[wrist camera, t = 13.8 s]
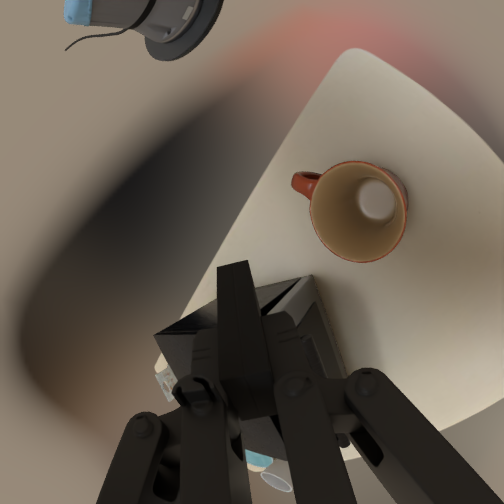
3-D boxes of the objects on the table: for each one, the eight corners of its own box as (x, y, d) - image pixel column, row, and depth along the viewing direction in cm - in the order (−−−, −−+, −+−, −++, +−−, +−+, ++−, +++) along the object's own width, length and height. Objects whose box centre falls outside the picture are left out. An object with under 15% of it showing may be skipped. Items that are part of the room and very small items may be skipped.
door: (333, 268, 37) (295, 322, 23) (371, 390, 38) (350, 466, 25) (302, 277, 39) (250, 330, 26) (344, 394, 41) (315, 466, 27)
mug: (425, 180, 26) (422, 187, 18) (397, 247, 30) (380, 280, 22) (333, 140, 31) (293, 134, 23) (313, 204, 35) (270, 220, 28)
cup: (310, 458, 52) (283, 493, 44) (285, 442, 56) (256, 475, 47) (325, 450, 48) (297, 489, 39) (298, 432, 52) (267, 469, 43)
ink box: (193, 377, 71) (163, 399, 62) (182, 350, 69) (149, 371, 60) (200, 380, 69) (169, 403, 60) (189, 352, 67) (155, 375, 58)
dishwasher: (301, 276, 40) (227, 333, 28) (343, 393, 41) (295, 463, 29) (221, 295, 52) (153, 335, 40) (265, 388, 53) (213, 438, 41)
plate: (219, 399, 66) (212, 405, 64) (288, 446, 56) (281, 454, 54) (214, 430, 77) (208, 435, 75) (268, 468, 66) (263, 474, 64)
